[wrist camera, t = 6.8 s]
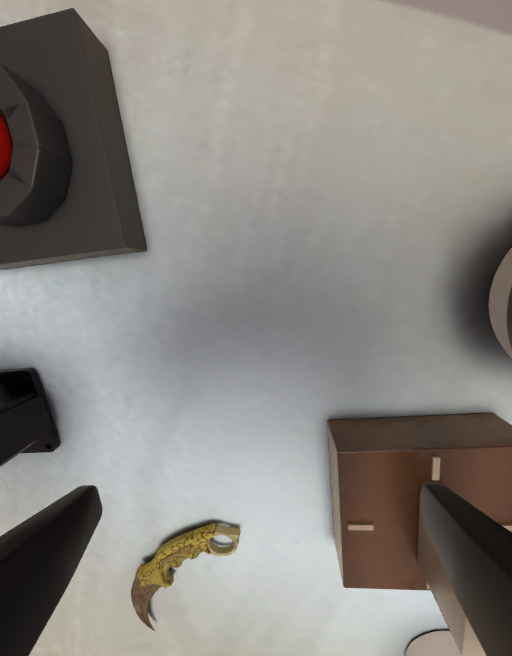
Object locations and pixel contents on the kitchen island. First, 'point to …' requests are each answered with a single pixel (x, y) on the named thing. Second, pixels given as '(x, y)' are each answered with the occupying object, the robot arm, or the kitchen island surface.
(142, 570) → the knife
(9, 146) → the button
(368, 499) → the dial panel
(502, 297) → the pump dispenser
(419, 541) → the dial knob
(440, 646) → the mug
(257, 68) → the kitchen island surface
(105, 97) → the switch block
